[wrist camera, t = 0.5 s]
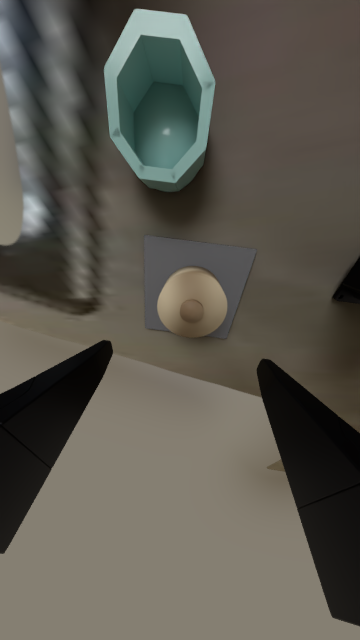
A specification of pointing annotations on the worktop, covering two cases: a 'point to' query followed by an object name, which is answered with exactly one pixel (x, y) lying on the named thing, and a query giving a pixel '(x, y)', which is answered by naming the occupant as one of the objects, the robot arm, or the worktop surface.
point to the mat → (177, 253)
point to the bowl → (159, 98)
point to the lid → (192, 302)
